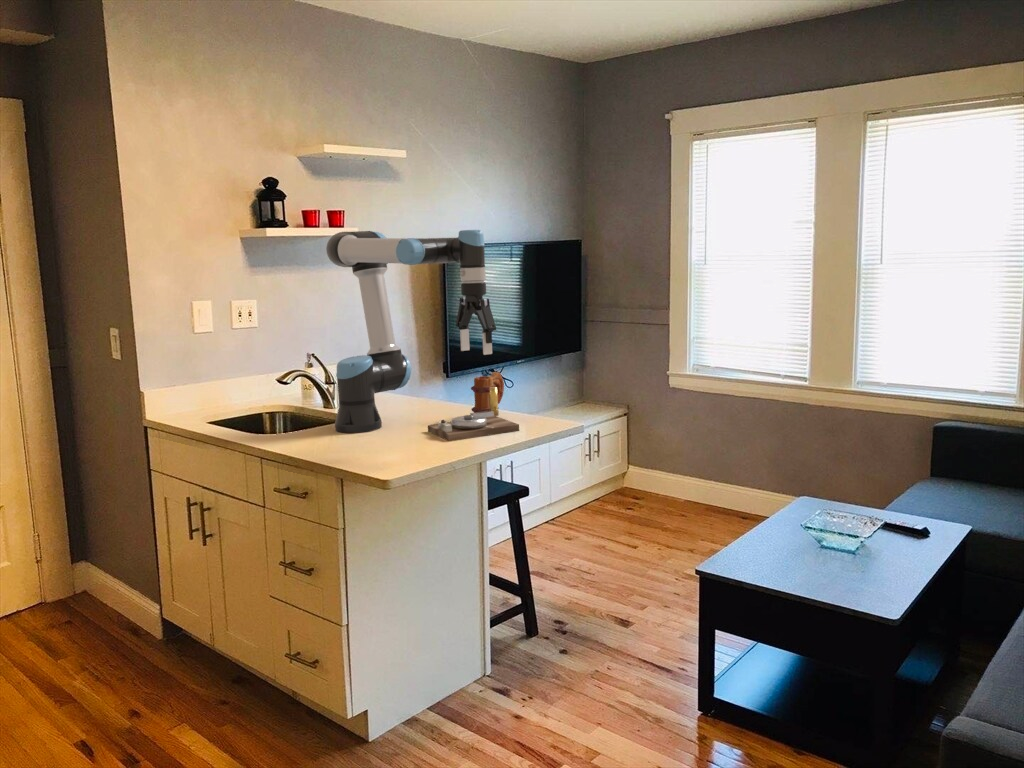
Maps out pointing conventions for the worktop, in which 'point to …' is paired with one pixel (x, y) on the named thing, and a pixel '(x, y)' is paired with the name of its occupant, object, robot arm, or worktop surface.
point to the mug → (486, 391)
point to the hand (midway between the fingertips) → (476, 352)
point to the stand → (493, 427)
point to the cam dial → (478, 415)
